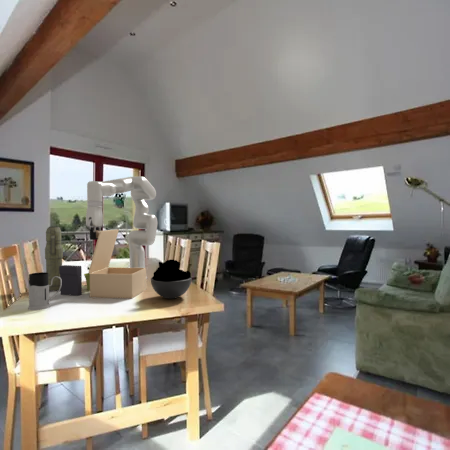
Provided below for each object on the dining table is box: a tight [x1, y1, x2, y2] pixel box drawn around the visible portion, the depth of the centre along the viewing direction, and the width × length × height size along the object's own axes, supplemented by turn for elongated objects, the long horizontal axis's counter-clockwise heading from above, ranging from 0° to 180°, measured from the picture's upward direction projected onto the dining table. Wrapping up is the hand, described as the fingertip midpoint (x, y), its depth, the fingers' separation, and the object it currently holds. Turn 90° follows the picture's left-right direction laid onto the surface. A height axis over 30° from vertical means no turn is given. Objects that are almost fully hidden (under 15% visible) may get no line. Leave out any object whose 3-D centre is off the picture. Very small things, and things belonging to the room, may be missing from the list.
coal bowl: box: [150, 259, 192, 299], centre depth 158 cm, size 20×20×19 cm
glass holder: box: [27, 271, 62, 311], centre depth 143 cm, size 9×14×15 cm, turn 94°
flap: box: [88, 229, 120, 274], centre depth 169 cm, size 20×22×9 cm
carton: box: [89, 266, 147, 299], centre depth 168 cm, size 20×22×12 cm
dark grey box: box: [59, 264, 83, 297], centre depth 166 cm, size 11×4×15 cm, turn 74°
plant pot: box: [83, 272, 90, 291], centre depth 178 cm, size 9×9×9 cm
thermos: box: [44, 226, 64, 292], centre depth 177 cm, size 9×12×35 cm
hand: (95, 239), depth 169 cm, fingers closed on flap, 4 cm apart
